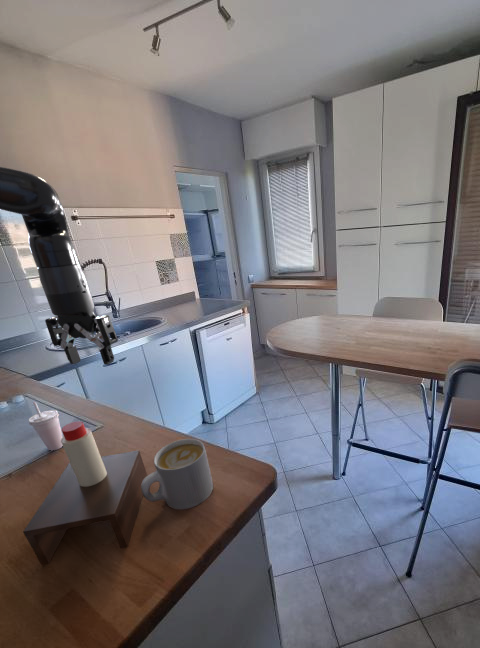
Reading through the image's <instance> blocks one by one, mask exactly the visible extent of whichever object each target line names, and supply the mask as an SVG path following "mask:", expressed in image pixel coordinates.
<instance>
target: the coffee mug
mask: <svg viewBox="0 0 480 648" xmlns="http://www.w3.org/2000/svg"><path fill="white" fill-rule="evenodd" d="M153 465H154V467H155V471H153V472H151V473H149V474H147V477H146V478H144V480H143V481H142V484H141V490H142V494H143V498H144V499H146V500H147V501H148V502H151V503H153V502H158V501H165V503H166V505H167V506H168V507H170V508H172V509H174V510H188V509H192V508H194V507H197V506H198V505H200V504H202V503H203V502H204V501H206V500H207V499H208V498H209V497H210V495H211V494H212V492H213V490H214V481H213V477H212V472H211V468H210V463H209V459H208V456H207V451H206V447H205V444H204V443H203V441H201V440H198V439H195V438H182V439H178V440H175V441H172V442H170V443H167V444H166V445H164V446H163V447H161V448H160V449H159V450H158V451H157V452H156V454H155V455H154V458H153ZM156 482H158V483H159V488H158V489H157V491H155V492H151V491H150V487H151V486H152V485H153V484H154V483H156Z"/></svg>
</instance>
